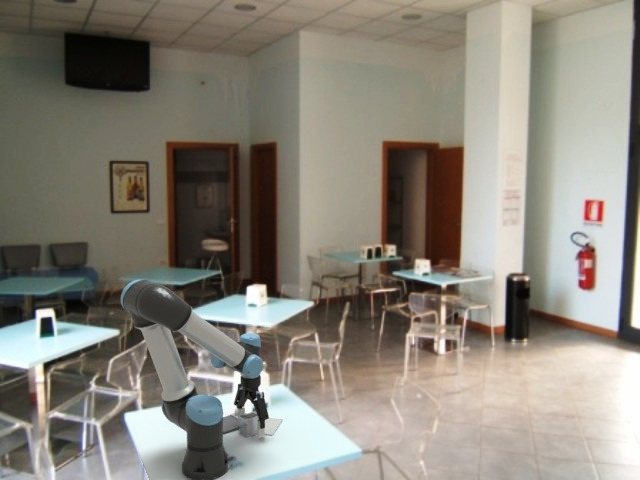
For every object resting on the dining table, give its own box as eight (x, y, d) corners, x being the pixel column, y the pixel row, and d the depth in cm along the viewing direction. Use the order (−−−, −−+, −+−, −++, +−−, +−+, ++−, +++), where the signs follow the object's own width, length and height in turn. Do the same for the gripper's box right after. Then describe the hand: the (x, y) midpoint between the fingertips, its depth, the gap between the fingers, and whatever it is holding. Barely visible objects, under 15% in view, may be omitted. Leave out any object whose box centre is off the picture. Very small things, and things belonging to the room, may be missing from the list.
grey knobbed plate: (217, 436, 217) (217, 426, 217) (200, 426, 226) (200, 416, 226) (252, 424, 228) (252, 415, 227) (235, 415, 237) (235, 406, 236)
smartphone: (254, 433, 219) (266, 417, 234) (255, 435, 219) (266, 419, 234) (272, 435, 218) (283, 419, 232) (272, 436, 218) (283, 420, 233)
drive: (246, 438, 216) (246, 419, 215) (239, 433, 219) (239, 415, 219) (262, 433, 220) (262, 414, 219) (254, 428, 224) (254, 410, 223)
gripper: (278, 381, 211) (278, 438, 214) (240, 364, 229) (241, 417, 232) (261, 386, 206) (261, 444, 209) (224, 368, 224) (225, 422, 227)
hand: (251, 430), depth 220 cm, fingers open, 12 cm apart
